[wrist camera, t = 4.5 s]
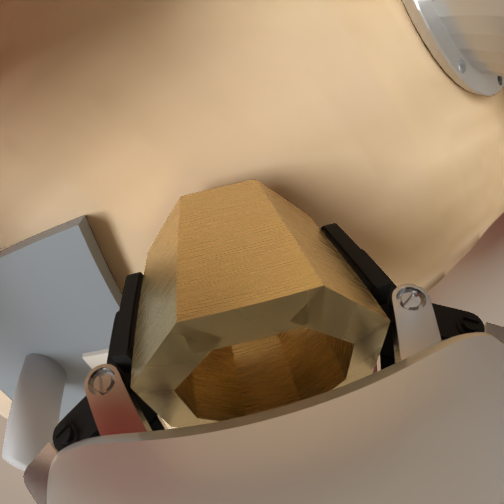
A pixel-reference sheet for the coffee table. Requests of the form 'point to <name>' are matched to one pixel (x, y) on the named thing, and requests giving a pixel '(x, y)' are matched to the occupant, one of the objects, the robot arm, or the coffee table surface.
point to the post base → (51, 330)
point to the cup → (247, 310)
